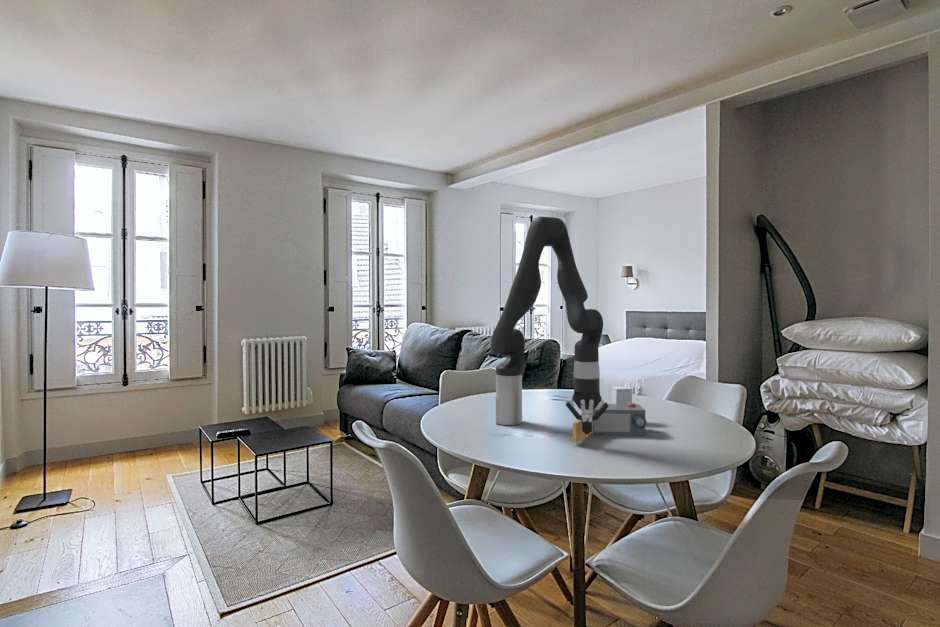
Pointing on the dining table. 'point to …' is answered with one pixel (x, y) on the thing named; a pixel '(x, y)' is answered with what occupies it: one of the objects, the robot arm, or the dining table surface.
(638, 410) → the camera body
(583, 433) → the door
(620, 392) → the skincare box
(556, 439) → the dining table surface
